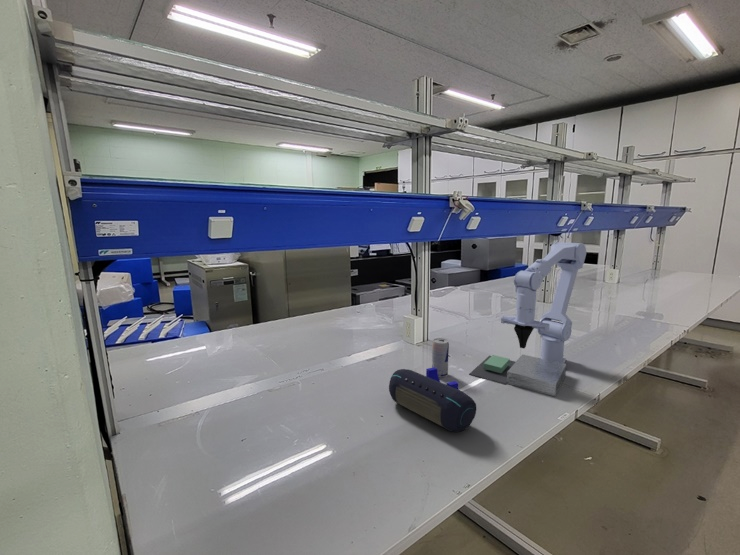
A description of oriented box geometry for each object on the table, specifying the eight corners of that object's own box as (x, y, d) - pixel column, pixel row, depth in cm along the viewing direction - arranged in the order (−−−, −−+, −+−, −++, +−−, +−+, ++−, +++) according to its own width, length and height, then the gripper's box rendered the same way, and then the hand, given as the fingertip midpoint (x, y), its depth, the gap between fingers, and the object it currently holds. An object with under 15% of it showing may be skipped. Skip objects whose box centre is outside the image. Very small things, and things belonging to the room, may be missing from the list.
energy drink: (449, 373, 120) (451, 339, 118) (444, 379, 115) (445, 344, 113) (434, 370, 122) (435, 337, 120) (429, 375, 118) (430, 341, 116)
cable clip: (461, 401, 102) (462, 382, 101) (449, 404, 100) (449, 385, 99) (437, 383, 113) (438, 366, 112) (425, 386, 111) (426, 368, 110)
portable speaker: (382, 403, 100) (382, 371, 99) (405, 392, 107) (406, 361, 105) (457, 444, 82) (458, 405, 80) (479, 427, 89) (481, 391, 87)
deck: (521, 364, 126) (522, 354, 125) (565, 375, 118) (566, 364, 117) (506, 383, 112) (507, 371, 111) (554, 396, 104) (556, 384, 103)
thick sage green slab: (509, 358, 124) (509, 366, 124) (492, 354, 128) (492, 361, 128) (501, 367, 117) (500, 375, 117) (483, 363, 121) (483, 370, 121)
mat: (489, 356, 134) (489, 355, 134) (522, 363, 127) (522, 363, 127) (469, 374, 119) (469, 373, 118) (505, 384, 111) (505, 383, 111)
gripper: (499, 306, 115) (496, 346, 117) (547, 313, 106) (543, 356, 109) (505, 302, 121) (503, 340, 123) (552, 309, 112) (548, 349, 114)
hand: (522, 347), depth 116 cm, fingers closed
